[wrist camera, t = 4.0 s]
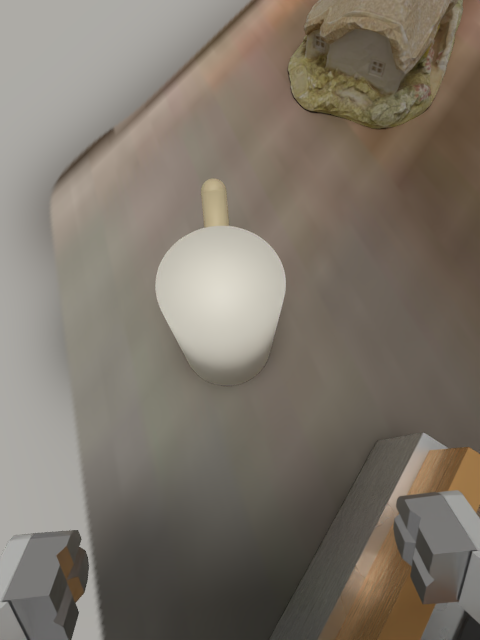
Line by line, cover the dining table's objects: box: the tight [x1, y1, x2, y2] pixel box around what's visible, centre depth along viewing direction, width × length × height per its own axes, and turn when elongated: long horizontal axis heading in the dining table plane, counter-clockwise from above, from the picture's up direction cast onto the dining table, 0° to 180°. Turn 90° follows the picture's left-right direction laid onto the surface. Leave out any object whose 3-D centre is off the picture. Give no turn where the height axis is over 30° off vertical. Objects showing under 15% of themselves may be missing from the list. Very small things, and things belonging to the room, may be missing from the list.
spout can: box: [155, 179, 286, 386], centre depth 21 cm, size 9×5×8 cm, turn 5°
